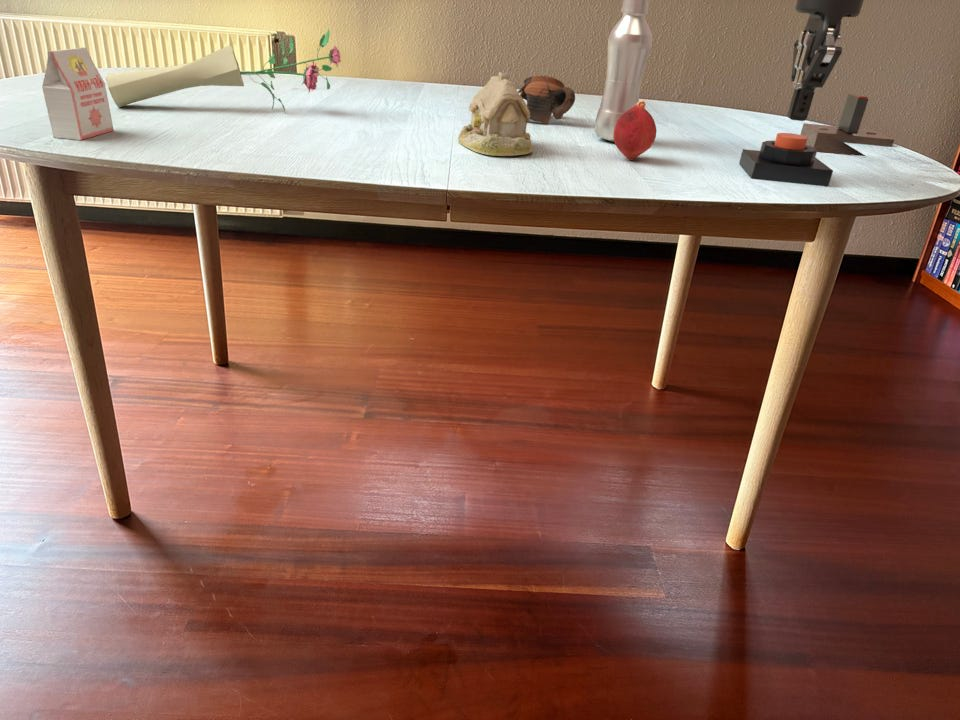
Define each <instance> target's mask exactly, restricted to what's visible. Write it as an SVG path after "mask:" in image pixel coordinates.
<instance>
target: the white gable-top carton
mask: <svg viewBox="0 0 960 720" xmlns="http://www.w3.org/2000/svg"><path fill="white" fill-rule="evenodd" d="M44 72H45V73H44V77H43V81H42V86H41V89H42V92H43V97H44V101H45V107H46V111H47V114H48V119H49V124H50V128H51V132H52V133H51V134H52V137H53V138H57V139H66V140H67V139H68V140H74V141H75V140H76V141H77V140H78V141H83V140H87V139H89V138H93V137H96V136H100V135H103V134H107V133H110V132H114V124H113V119H112V113H111V108H110V102H109V97H108V91H107V87H106V82H105V80H104V79H103V77H102V75H101V73H100V72H99V70H98V68H97V67H96V65H95V63H94V61H93V59H92V57H91V55H90V53H89V50H88V47H77V48H67V49H58V50H48V51H47V59H46V67H45V71H44Z"/></svg>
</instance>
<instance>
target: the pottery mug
mask: <svg viewBox="0 0 960 720" xmlns="http://www.w3.org/2000/svg"><path fill="white" fill-rule="evenodd" d="M523 83H524V85H522V86H521V87H520V88H519V89H518V90H517V92H518V93H519V95H520V96H521V97H522V98H523V100H524V101H526V105H527V107H528V110H529V112H530V118H529V121H533V122H537V123H542V124H545V125H549V124H550V120H551V117H552V116H553V118H554V119H555V120H561V119H562V118H563V116H564V115H565V114H566V113H568V112H569V111H570V110H571V109H572V107H573V106H574V104H575V101H576V93H575V91H574V90H573V89H572V88H571V87H568V86H565V84H564V82H562V81H561V80H559V79H557V78H555V77H553V76H547V75H533V76H528V77H526V78H525V79H524V80H523Z"/></svg>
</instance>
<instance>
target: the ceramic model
mask: <svg viewBox="0 0 960 720" xmlns="http://www.w3.org/2000/svg"><path fill="white" fill-rule="evenodd" d="M468 111H469V112H471V114H470V115H471V116H470V123H469V124H467V125H463V127H462V129H461V131H460V133H459V135H458V137H457V139H458V144H460V145H461V146H463V147H465V148H467V149H469V150H470V151H472V152H476V153H478V154H482V155H487V156H494V157H495V156H499V157H501V156H502V157H504V156H506V157H507V156H508V157H509V156H513V157H514V156H523V155H528V154H530V153H532V152H534V145H533V143H532V139H531V134H530V132H527V125H528V124H529V123H530V122H531V120H529V118H530V112H529V110H528V107H527V102H525V99H523V98H522V97H521V96H520V93H518V89H517V88H516V86H515V85H514V82H512V81H511V80H510V79H509V73H508V72H506V71H499V73H498V75H493V76H491V78H489V80H488V82H487V83H486V84H485V85H484V86H483V87H482V88H481V89H480V90H478V92H477V93H476V94H475V95H474V97H473V99H472V100H471V101H470V103H469V106H468Z"/></svg>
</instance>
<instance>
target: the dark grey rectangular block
mask: <svg viewBox="0 0 960 720" xmlns="http://www.w3.org/2000/svg"><path fill="white" fill-rule="evenodd" d="M868 102H869V96H867V95H860V94H855V93H848V94H847V97H846V100H845V103H844V106H843V110H842V114H841V117H840V120H839V122H838V123H839V124H838V125H839V126H838V125H837V126H838V128H839V129H841V130H843V131H845V132H847V133H853V134H857V133H858V130H859V129H860V127H861V123H862V121H863V117H864V114H865V112H866V108H867V105H868Z"/></svg>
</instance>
